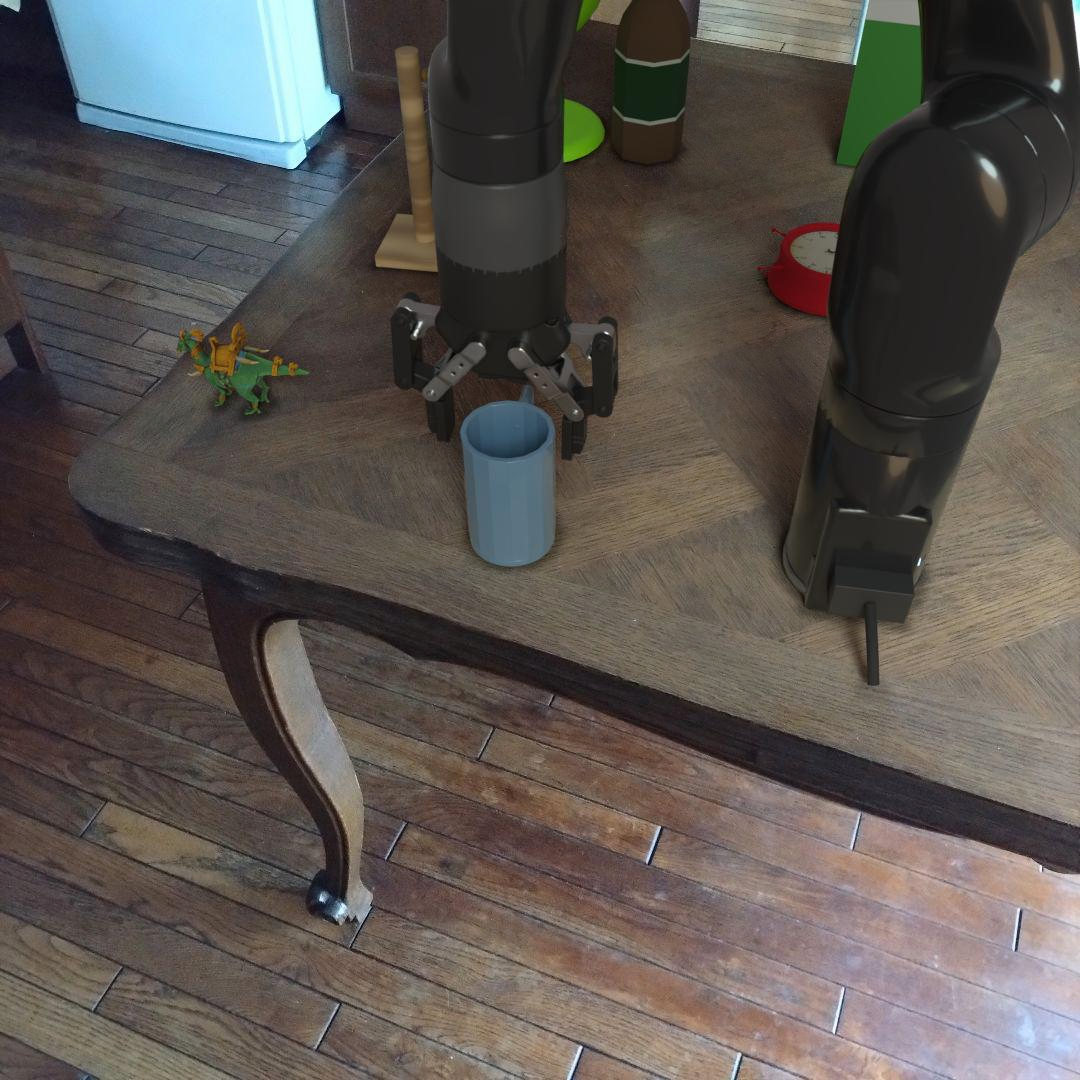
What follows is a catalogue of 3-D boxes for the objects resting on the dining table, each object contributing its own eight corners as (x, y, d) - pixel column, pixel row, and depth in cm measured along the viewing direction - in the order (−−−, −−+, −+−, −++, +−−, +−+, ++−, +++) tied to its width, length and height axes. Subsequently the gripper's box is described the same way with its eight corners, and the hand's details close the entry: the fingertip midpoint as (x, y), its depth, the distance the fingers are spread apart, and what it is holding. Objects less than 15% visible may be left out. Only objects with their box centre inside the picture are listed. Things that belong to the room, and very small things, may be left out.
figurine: (200, 381, 90) (175, 299, 84) (327, 408, 87) (311, 325, 81) (180, 403, 88) (153, 320, 82) (310, 431, 85) (292, 348, 79)
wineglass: (463, 168, 115) (451, -8, 102) (465, 103, 126) (454, -63, 113) (610, 164, 116) (616, -13, 102) (599, 99, 127) (604, -67, 113)
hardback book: (1009, 156, 116) (1089, -90, 98) (1006, 188, 111) (1089, -65, 93) (846, 133, 120) (895, -107, 102) (836, 163, 115) (885, -83, 98)
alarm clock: (770, 213, 101) (939, 203, 95) (776, 272, 105) (937, 265, 99) (750, 271, 94) (930, 264, 88) (757, 331, 98) (929, 328, 92)
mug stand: (549, 282, 100) (548, 79, 86) (376, 266, 102) (347, 66, 88) (563, 238, 105) (563, 40, 91) (398, 224, 107) (374, 29, 94)
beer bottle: (611, 132, 121) (619, -106, 103) (679, 133, 120) (700, -106, 103) (611, 165, 115) (621, -80, 98) (683, 165, 115) (705, -81, 98)
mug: (546, 572, 74) (545, 466, 67) (461, 561, 75) (450, 456, 68) (570, 474, 81) (571, 369, 74) (491, 465, 82) (484, 360, 75)
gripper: (359, 250, 58) (390, 465, 70) (614, 280, 56) (602, 497, 68) (400, 183, 63) (422, 395, 75) (635, 208, 61) (620, 422, 73)
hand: (508, 443), depth 72 cm, fingers open, 8 cm apart
